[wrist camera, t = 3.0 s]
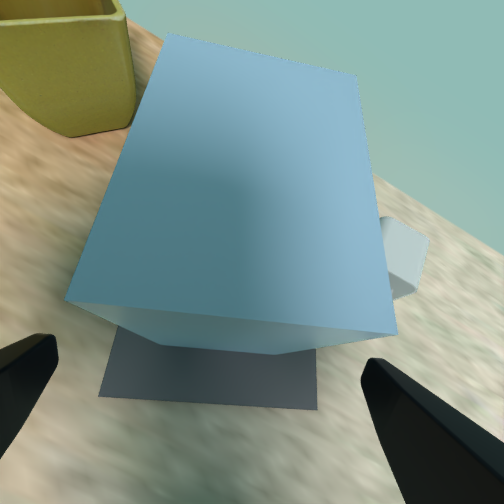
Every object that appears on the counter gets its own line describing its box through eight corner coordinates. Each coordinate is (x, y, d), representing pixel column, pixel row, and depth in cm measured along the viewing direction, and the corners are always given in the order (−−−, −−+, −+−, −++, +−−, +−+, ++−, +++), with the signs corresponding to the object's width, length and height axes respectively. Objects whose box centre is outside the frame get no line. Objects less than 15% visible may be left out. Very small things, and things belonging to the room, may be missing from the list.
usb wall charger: (397, 261, 22) (434, 240, 18) (374, 333, 19) (414, 325, 15) (356, 238, 22) (385, 213, 19) (327, 305, 19) (355, 291, 16)
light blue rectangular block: (275, 354, 17) (398, 334, 6) (160, 344, 16) (64, 300, 5) (279, 224, 21) (356, 75, 10) (188, 211, 20) (167, 32, 9)
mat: (315, 409, 16) (317, 410, 16) (100, 395, 15) (98, 396, 14) (309, 202, 23) (310, 200, 23) (161, 179, 21) (160, 176, 21)
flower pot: (28, 89, 23) (-69, -60, 15) (127, 77, 26) (91, -55, 18) (46, 161, 20) (-59, 26, 12) (155, 139, 23) (127, 16, 15)
